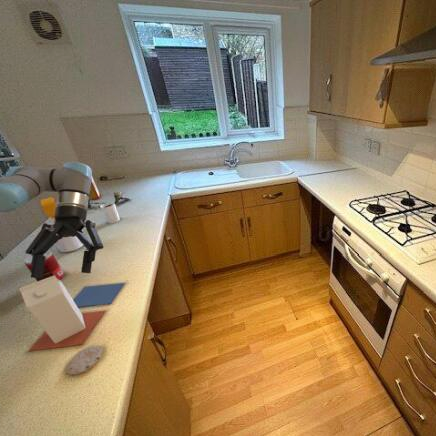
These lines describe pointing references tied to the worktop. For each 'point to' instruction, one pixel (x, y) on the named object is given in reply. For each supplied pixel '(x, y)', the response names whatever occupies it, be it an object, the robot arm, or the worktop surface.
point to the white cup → (110, 212)
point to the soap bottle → (63, 244)
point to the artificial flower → (116, 194)
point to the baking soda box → (94, 191)
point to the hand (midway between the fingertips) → (61, 275)
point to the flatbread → (84, 359)
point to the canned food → (47, 267)
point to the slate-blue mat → (97, 295)
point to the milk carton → (53, 308)
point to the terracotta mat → (74, 340)
